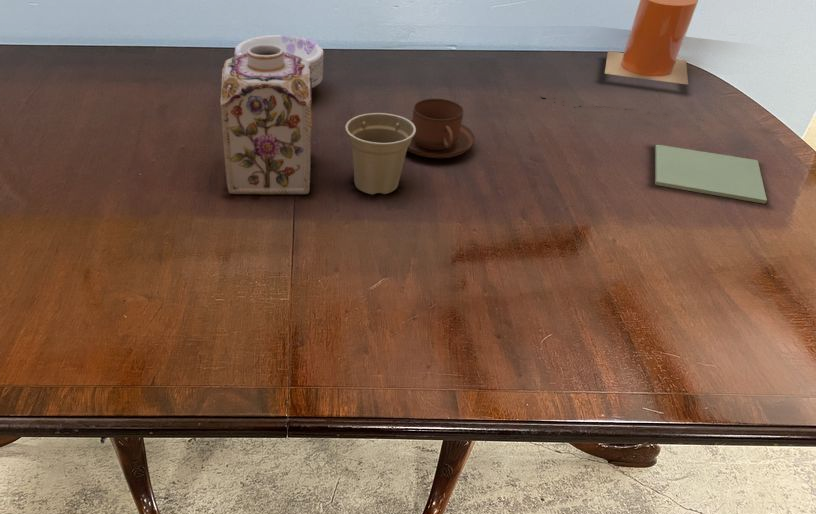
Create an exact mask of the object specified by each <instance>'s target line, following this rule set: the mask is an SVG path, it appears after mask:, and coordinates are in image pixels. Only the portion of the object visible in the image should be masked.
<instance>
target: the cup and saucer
mask: <svg viewBox="0 0 816 514" xmlns="http://www.w3.org/2000/svg"><path fill="white" fill-rule="evenodd" d="M463 116H464V108H463V106H462V105H460V104H459V103H458V102H455V101H453V100H451V99H450V100H449V99H445V98H426V99H421V100H418V101H417V102H416V103H415V104H414V105H413V110H412V119H411V120H410V121H411V122H412V123H413V124H414V125H415V127H416V133H415V135H414V137H413V138H412V139H411V143H410V145H409V146H408V148H407V151H406V152H408V153H411V154H413V155H415V156H419V157H422V158H427V159H450V158H455V157H457V156H461V155H463V154H465V153H466V152H468V151H469V150H470V149H471V148H472V147H473V145H474V143H475V139H476V138H475V135H474V133H473V131H472V130H471V129H470V128H468V127H467V126H466V125H464V124H462V121H463Z"/></svg>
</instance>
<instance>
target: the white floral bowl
mask: <svg viewBox="0 0 816 514" xmlns="http://www.w3.org/2000/svg"><path fill="white" fill-rule="evenodd" d="M261 44H270V45H276V46H279V47H281V48H282V49H283V51H284V52H286V53H289V54H292V55H296V56H298V57H301V58H302V59H305V60H307V61H309V62H310V65H311V71H312V74H311V77H312V89H313V88H316V87H317V86H318V85H320V84H321V83H322V81H323V79H324V53H325V52H324V49H323V47H322V46H321V45H320V44H319V43H318V42H316V41H314V40H311V39H309V38H306V37H302V36H297V35H291V34H290V35H288V34H287V35H286V34H270V35H269V34H268V35H261V36H255V37H250V38H247V39H245V40H242V41H241V42H239V43H238V44H237V45H236V47H235V48H234V52H233V53H234V57H235V56H237V55H242V54H246V53H247V50H248V48H250V47H253V46H255V45H261Z"/></svg>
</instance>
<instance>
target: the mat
mask: <svg viewBox="0 0 816 514" xmlns="http://www.w3.org/2000/svg"><path fill="white" fill-rule="evenodd" d="M654 185H655V186H659V187H665V188H671V189H676V190H683V191H689V192H693V193H700V194H704V195H705V194H706V195H711V196H716V197H717V196H718V197H722V198H729V199H735V200H739V201H746V202H753V203H758V204H763V205H764V204H766V203H767V201H768V198H767V194H766V190H765V186H764V182H763V177H762V172H761V169H760V165H759V161H758V159H752V158H746V157H739V156H733V155H727V154H720V153H714V152H708V151H701V150H694V149H689V148H682V147H675V146H670V145H663V144H656V145H655V147H654Z"/></svg>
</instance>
